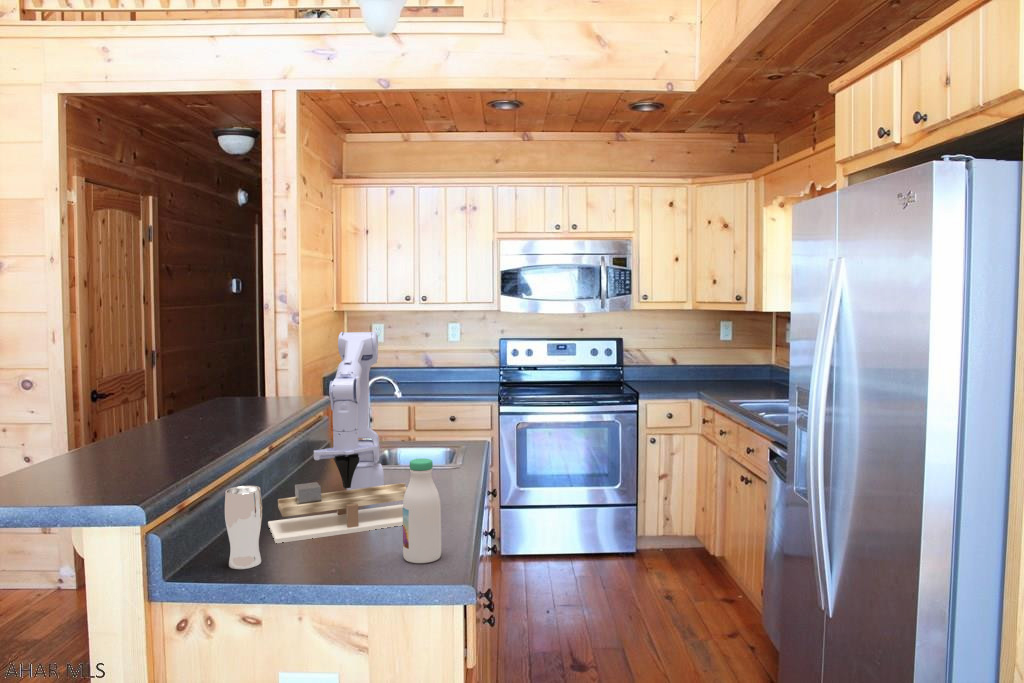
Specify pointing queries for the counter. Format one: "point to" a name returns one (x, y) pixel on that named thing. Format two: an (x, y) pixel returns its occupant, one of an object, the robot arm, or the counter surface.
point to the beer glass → (243, 525)
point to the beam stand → (336, 523)
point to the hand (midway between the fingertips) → (346, 487)
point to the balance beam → (344, 499)
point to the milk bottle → (421, 515)
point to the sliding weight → (307, 493)
